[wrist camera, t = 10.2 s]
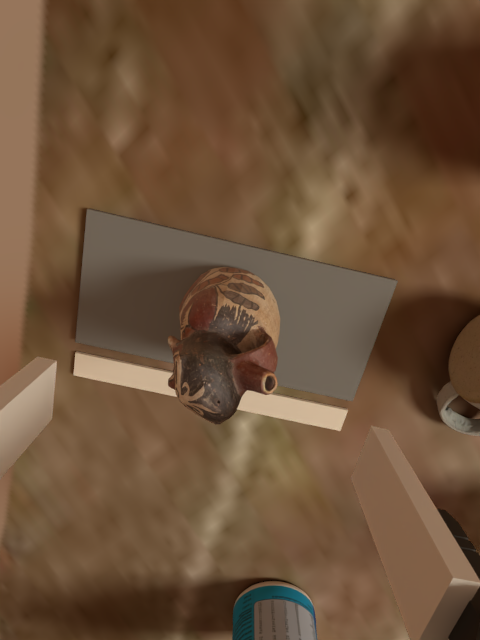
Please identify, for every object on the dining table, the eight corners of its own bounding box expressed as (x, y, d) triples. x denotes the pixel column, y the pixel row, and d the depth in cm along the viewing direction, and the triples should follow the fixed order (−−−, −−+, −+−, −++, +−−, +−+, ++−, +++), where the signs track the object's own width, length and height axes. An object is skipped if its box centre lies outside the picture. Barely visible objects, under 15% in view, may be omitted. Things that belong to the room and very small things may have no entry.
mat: (351, 397, 31) (352, 401, 30) (78, 339, 29) (75, 342, 29) (395, 279, 27) (397, 281, 27) (89, 208, 26) (86, 208, 26)
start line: (339, 428, 32) (340, 431, 31) (75, 373, 30) (73, 375, 30) (347, 408, 31) (347, 410, 31) (77, 351, 30) (75, 352, 30)
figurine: (170, 274, 27) (116, 339, 16) (270, 256, 26) (286, 310, 15) (193, 364, 29) (159, 476, 18) (284, 349, 29) (308, 455, 18)
